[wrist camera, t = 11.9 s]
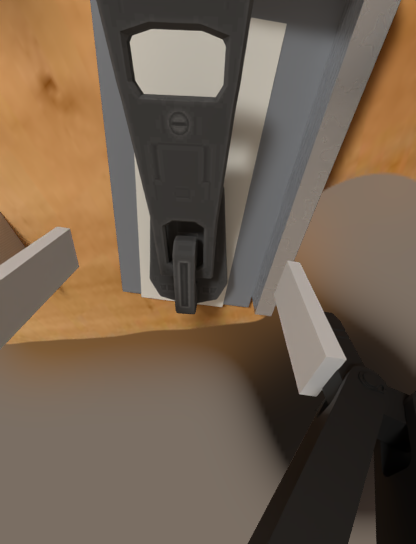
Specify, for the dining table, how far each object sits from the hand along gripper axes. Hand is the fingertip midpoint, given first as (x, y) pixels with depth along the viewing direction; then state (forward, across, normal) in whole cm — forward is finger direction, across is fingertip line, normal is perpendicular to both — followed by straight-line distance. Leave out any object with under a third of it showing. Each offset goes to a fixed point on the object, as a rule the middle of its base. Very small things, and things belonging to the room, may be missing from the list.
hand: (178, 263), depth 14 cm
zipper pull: (+11, +1, -1) cm, 11 cm away
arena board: (+12, 0, -1) cm, 12 cm away
